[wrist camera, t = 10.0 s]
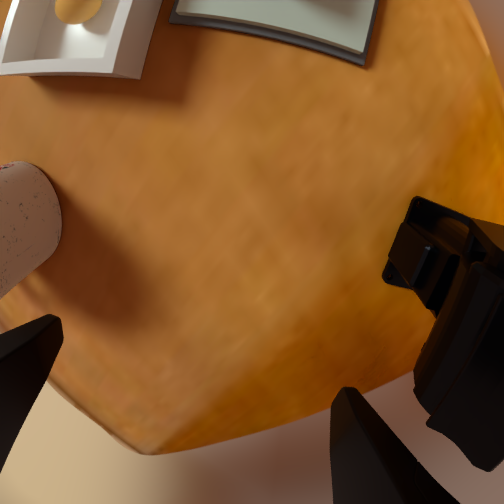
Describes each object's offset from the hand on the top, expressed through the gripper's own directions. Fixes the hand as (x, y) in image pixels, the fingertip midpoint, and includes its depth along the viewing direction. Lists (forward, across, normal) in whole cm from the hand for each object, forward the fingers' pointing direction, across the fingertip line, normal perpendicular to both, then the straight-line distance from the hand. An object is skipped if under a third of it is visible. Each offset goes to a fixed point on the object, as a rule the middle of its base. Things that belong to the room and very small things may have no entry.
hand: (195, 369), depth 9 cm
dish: (+13, +13, -13) cm, 22 cm away
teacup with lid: (+13, +18, +4) cm, 23 cm away
